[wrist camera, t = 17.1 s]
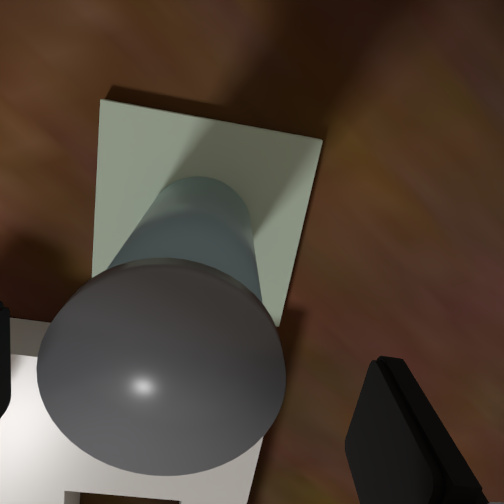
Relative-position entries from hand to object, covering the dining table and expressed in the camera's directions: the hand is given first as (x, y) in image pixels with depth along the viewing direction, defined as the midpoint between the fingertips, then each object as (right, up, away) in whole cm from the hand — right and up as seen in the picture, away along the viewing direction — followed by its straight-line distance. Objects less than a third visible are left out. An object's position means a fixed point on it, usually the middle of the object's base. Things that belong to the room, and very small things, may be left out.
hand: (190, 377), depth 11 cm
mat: (-1, +5, +10) cm, 11 cm away
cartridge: (-1, +4, +10) cm, 11 cm away
